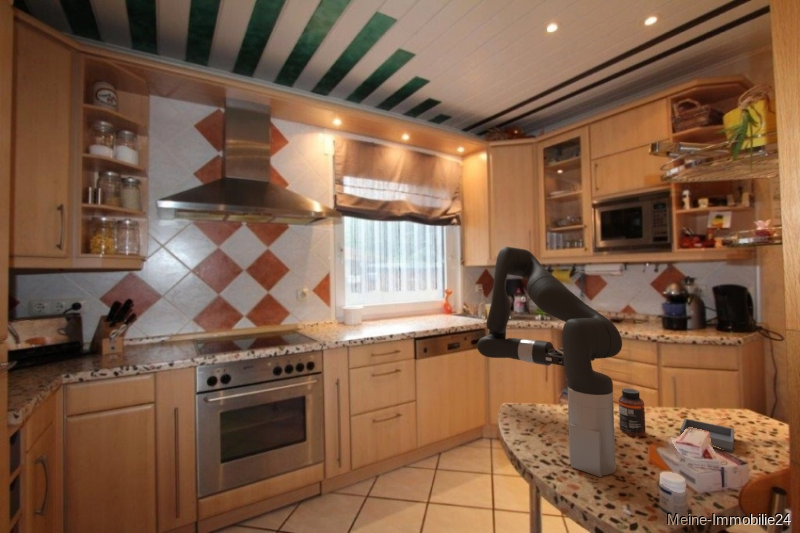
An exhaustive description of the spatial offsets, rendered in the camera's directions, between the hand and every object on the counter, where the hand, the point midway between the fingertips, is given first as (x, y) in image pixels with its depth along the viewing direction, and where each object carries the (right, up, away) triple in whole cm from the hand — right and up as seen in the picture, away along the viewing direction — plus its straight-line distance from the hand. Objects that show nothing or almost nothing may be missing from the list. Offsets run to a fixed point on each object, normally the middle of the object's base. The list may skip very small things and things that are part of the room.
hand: (589, 359), depth 104 cm
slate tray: (+24, -17, -12) cm, 32 cm away
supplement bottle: (+8, -18, -8) cm, 21 cm away
